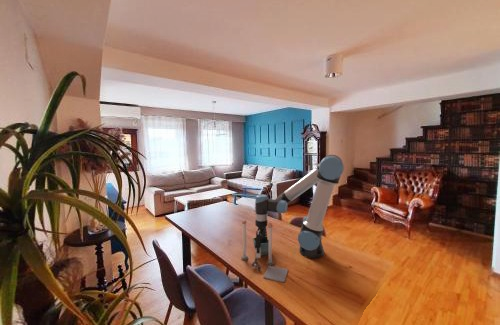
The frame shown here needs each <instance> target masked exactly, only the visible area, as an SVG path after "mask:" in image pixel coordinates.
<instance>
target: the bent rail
mask: <svg viewBox="0 0 500 325" xmlns="http://www.w3.org/2000/svg"><path fill="white" fill-rule="evenodd" d="M258 260H259V258H257V257H255V258H254V259H253V261H252V263H250V267H251V268H257V271H258V272H261V269H262V268H261V266H260V264H258V262H259V261H258Z"/></svg>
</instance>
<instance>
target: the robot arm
mask: <svg viewBox="0 0 500 325" xmlns="http://www.w3.org/2000/svg"><path fill="white" fill-rule="evenodd" d="M344 169H345V167H344V163H343V160H342V159H341V158H340V157H339V156H338V155H336V154H329V155H326V156H325V157H323V158H322V159H321V161H320V162H319V163H318V164H316V165H315V168H313V169H312V170H311V171H310V172H308V173H307V174H305V176H303V177H302V178H300V179H299V180H298V181H297V182H296V183H294V184H292V185H291V186H290V187H289V188H288V189H286V190H284V192H282V193H280V194H279V195H278V196H277V197H275V199H273V198H269V197H268V195H267V194H263V193H262V194H257V195H256V196H255V200H254V201H255V202H254V203H255V205H254V206H255V212H254V215H255V219H254V220H255V227H257V230H256V232H255V238H256V242H255V247H254V249H255V248H256V250H255V258H257V259H261V257H262V255H261V247H260V245H261V239H262V237H266V238H267V239H268V231H267V226H268V212H271V213H278V214H286V213H287V210H288V204H290V203H291V202H293V201H294V200H295V199H296V198H298V197H300V196H301V195H303V194H304V193H305V192H306V191H308V190H309V189H311V188H312V187H313V186H315V185H316V188H315V190H314V194H313V197H312V201H311V204H310V206H309V210H308V213H307V216H303V218H302V224H301V227H300V230H299V233H298V234H297V241H298V243H299V253H300V255H302V256H303V257H305V258H309V259H321V258H323V257H324V255H325V250H324V246H323V243H322V235H323V232H324V227H323V223H324V222H323V221H324V219H325V216H326V213H327V209H328V207H329V203H330V201H331V197H332V194H333V191H334V189H335V188H334V187H335V186H336V185H338V184H339V183H340V179H341V176H342V175H343V172H344Z"/></svg>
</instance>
